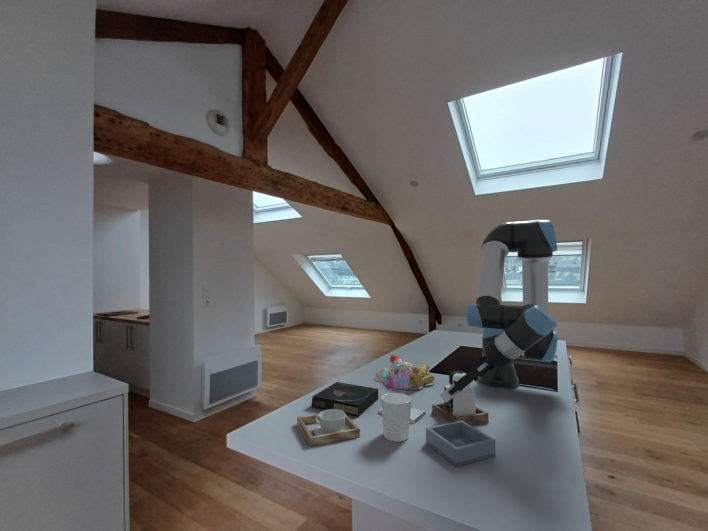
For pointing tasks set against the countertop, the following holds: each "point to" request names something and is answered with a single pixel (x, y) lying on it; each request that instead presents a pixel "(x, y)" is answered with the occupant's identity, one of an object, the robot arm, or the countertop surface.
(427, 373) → the candy landscape model
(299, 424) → the oak cup rest
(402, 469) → the countertop surface
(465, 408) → the medicine bottle
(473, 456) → the grey tray
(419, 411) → the hard drive
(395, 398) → the white cup
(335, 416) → the teacup
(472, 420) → the walnut holder
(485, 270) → the robot arm
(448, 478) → the countertop surface
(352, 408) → the portable cd player
